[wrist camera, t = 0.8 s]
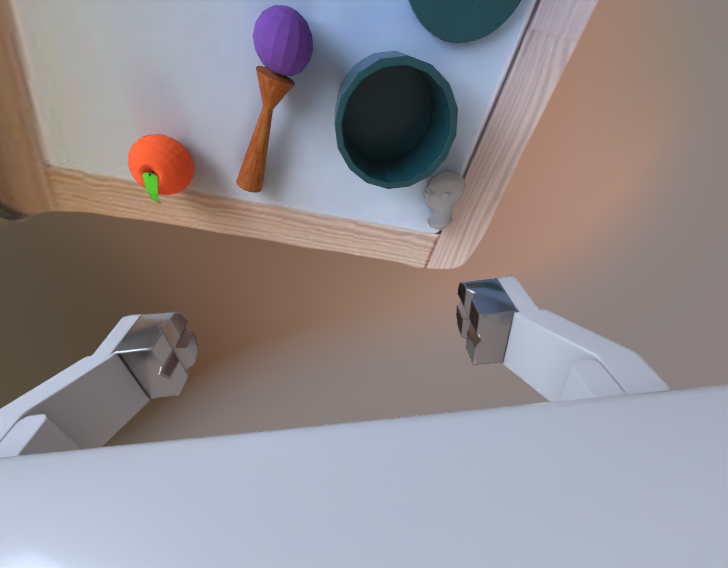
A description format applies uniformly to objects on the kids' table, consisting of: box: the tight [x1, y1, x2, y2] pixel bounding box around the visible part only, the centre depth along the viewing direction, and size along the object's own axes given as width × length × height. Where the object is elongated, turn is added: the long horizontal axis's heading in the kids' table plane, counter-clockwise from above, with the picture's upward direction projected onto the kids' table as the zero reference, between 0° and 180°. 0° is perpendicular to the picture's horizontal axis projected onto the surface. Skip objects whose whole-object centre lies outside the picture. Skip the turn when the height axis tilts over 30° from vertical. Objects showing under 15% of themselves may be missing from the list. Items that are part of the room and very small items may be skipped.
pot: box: [335, 51, 458, 189], centre depth 39 cm, size 12×12×10 cm
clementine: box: [128, 134, 194, 203], centre depth 42 cm, size 8×7×7 cm
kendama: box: [236, 5, 313, 192], centre depth 40 cm, size 6×6×20 cm
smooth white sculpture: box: [424, 171, 465, 230], centre depth 48 cm, size 4×8×5 cm
